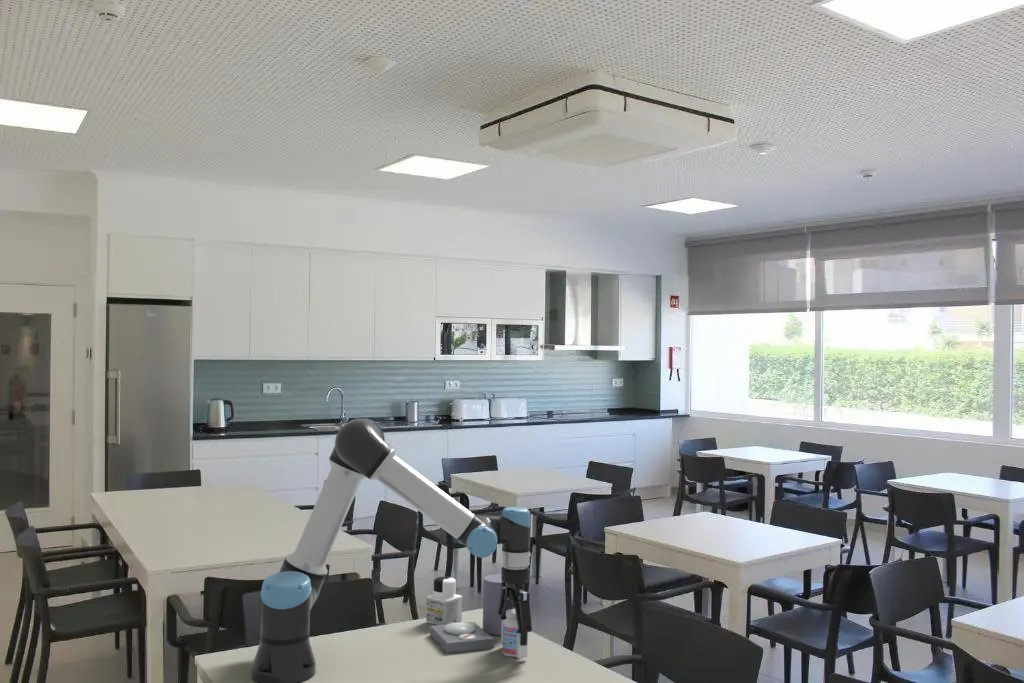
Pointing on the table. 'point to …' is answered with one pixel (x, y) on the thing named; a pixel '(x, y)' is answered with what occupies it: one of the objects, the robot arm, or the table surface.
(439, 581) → the container
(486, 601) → the container
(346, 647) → the table surface
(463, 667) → the table surface
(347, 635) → the table surface
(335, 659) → the table surface
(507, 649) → the pill bottle
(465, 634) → the scale
